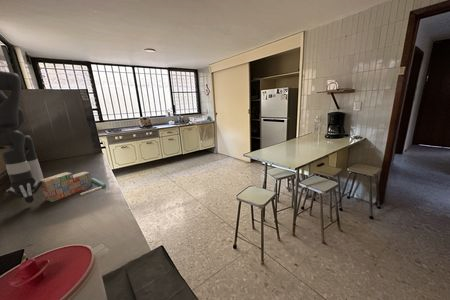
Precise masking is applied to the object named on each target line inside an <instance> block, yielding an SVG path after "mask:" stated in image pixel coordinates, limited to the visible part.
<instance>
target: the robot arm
mask: <svg viewBox="0 0 450 300" xmlns="http://www.w3.org/2000/svg"><path fill="white" fill-rule="evenodd" d="M22 86H23V85H22V80H21V76H20V75H18V73H16V72H11V71H10V72H9V71H1V70H0V147H1V148H2V147H7V148H8V149H9V150H8V151H7V150H6V151H4V152H3V153H2V158H3V162H4V163H5V169H6V171H7V174H8V177H9V180H10V183H11V185H10V188H8V189H6V190H5V191H6V193H7V194H9V195H11V196H14V197H17V198H19V199H20V198H24V200H25V201H24V202H25V203H26V204H27V203H28V204H31V203H33V201H34V196H33V195H34V194H36V193H37V192H38V190H39V189H40V187H41V184H42V182H40V180H41V179H45V178H44V175H43V172H42V171H43V170H42V169H41V166H40V163H39V159H38V155H37V152H36V149H35V145H34V141H33V138H32V137H31V135H28V134H26V135H25V134H24V133H23V132H22V131H19V130H20V129H21V128H22V127H23V125H24V124H25V120H26V119H25V115H24V111H23V109H22V108H21V107H20V101H21V93H22ZM4 91H7V92H10V95H9V96H7V95H6V94H5V93H4ZM25 151H26V152H25ZM32 188H33V189H32ZM15 190H17V191H18V192H16V191H15ZM19 192H21V193H19Z"/></svg>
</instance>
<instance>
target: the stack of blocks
mask: <svg viewBox="0 0 450 300" xmlns="http://www.w3.org/2000/svg"><path fill="white" fill-rule="evenodd" d="M91 179H92V177H91V173H90V172H89V171H81V172H78V173H75V174H73V173H72V172H67V171H65V172H62V173H58V174H55V175H52V176H49V177H46V178H44V179H41V180H40V182H42V184H41V186H40V187H41V190H42V192H43V196H44V199H45V201H47V202H51V203H53V202H56V201H58V200H61V199H63V197H64V198H66V197H69V196H71V195H73V194H75V193H78V192H80V191H84V190H86V189H88V188H91V187H93V186H94V185H93V182H92V180H91ZM68 195H69V196H68Z"/></svg>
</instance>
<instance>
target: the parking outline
mask: <svg viewBox="0 0 450 300" xmlns="http://www.w3.org/2000/svg"><path fill="white" fill-rule="evenodd" d="M91 180H92V183H94V184H96V185H98V187H95V188H93V189H88V190H87V191H83V192H81V193H79V195H80V196H83V195H86V194H89V193H93V192H95V191H98V190H100V189H103V188H106V187H107V184H106V183H105V182H103V181H101V180H98V179H97V178H95V177H93V178H92V177H91Z"/></svg>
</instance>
